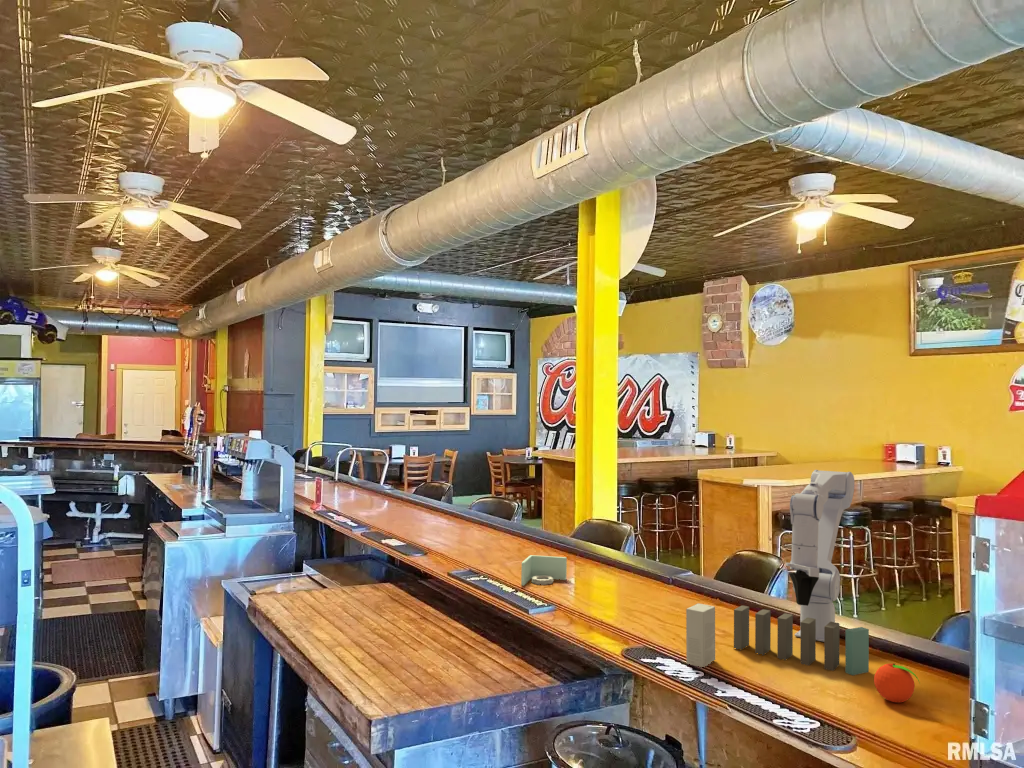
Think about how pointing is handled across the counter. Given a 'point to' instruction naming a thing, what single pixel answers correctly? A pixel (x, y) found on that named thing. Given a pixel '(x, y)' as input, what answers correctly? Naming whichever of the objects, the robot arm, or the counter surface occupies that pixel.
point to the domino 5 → (831, 646)
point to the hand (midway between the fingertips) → (802, 604)
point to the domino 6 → (857, 651)
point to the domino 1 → (741, 627)
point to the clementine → (894, 682)
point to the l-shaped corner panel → (543, 569)
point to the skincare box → (700, 635)
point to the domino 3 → (785, 636)
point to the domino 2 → (762, 631)
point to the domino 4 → (808, 641)
